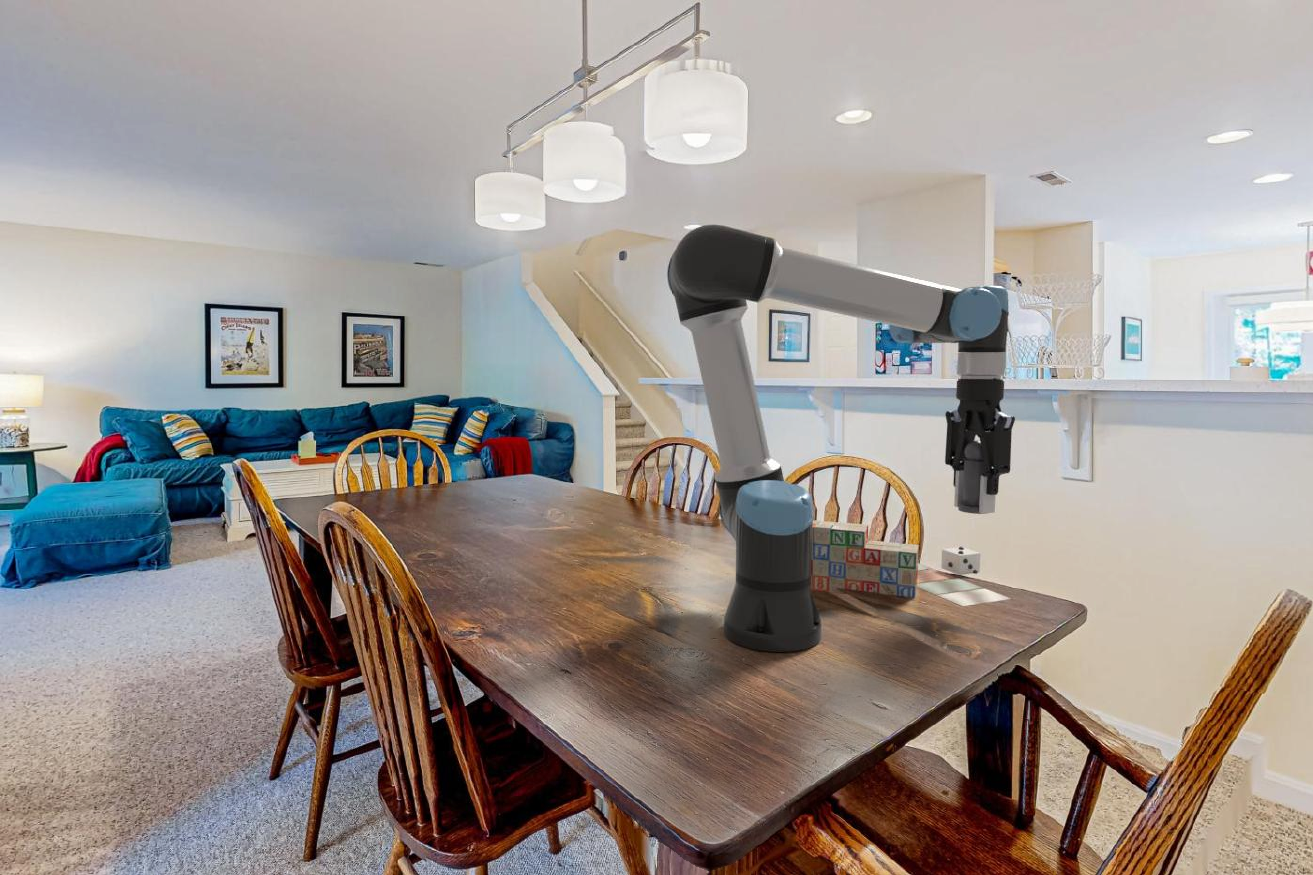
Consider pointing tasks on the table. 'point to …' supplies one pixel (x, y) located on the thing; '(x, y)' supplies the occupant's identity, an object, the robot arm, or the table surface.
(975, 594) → the board
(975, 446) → the pawn
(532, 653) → the table surface
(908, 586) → the stack of blocks
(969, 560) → the die
